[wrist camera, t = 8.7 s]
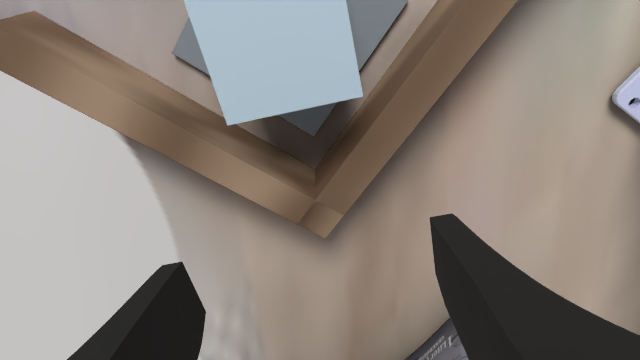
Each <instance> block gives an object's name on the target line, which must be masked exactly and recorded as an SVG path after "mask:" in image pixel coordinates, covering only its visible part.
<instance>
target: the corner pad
mask: <svg viewBox="0 0 640 360" xmlns="http://www.w3.org/2000/svg"><path fill="white" fill-rule="evenodd" d="M407 1H408V0H346V3H347V9H348V14H349V20H350V25H351V31H352V37H353V42H354V48H355V53H356V59H357V65H358V70H359V71H360V69H361V68H362V66H363V65H364V63H365V62H366V60H367V59H368V58H369V56H370V55H371V53H372V52H373V50H374V49H375V48H376V46H377V45H378V43H379V42H380V40H381V39H382V37H383V36H384V35H385V33H386V32H387V30H388V29H389V27H390V26H391V24H392V23H393V22H394V20H395V19H396V17H397V16H398V14H399V13H400V12H401V10H402V9H403V7H404V6H405V4H406V3H407ZM172 54H174V55H176V56H178V57H179V58H181V59H183V60H184V61H186V62H188V63H189V64H191V65H193V66H194V67H196V68H198V69H200V70H201V71H203V72H205V73H206V74H208V75H210V74H209V72H208V69H207V66H206V63H205V60H204V57H203V54H202V52H201V49H200V46H199V43H198V40H197V37H196V34H195V32H194V29H193V26H192V23H191V20H190V17H189V19H188V21H187V23H186V25H185V27H184V29H183V31H182V33H181V35H180V37H179V40H178V42H177V44H176V46H175V48H174V50H173V52H172ZM336 104H337V102H335V103H330V104H326V105H321V106H316V107H312V108H307V109H302V110H298V111H293V112H288V113H284V114H279V115H278V116H279V117H281V118H283V119H284V120H286V121H288V122H289V123H291V124H293V125H294V126H296V127H298V128H300V129H301V130H303V131H305V132H306V133H308V134H310V135H311V136H313V137H314V135H315V134H316V132H317V131H318V130H319V128H320V127H321V125H322V124H323V122H324V121H325V119H326V118H327V117H328V115H329V114H330V112H331V111H332V109H333V108H334V107H335V105H336Z"/></svg>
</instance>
